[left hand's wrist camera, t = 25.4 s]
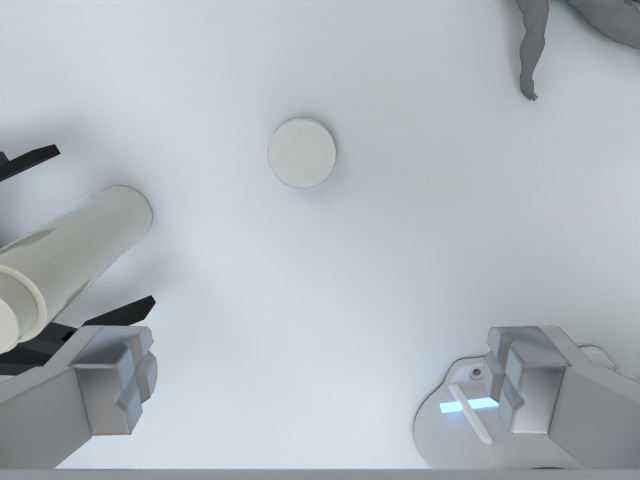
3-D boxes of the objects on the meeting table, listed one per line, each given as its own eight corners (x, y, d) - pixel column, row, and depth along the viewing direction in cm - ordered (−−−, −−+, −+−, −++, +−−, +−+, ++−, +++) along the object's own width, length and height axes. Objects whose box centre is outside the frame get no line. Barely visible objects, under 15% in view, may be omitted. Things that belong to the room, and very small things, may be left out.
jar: (85, 215, 39) (-92, 325, 22) (115, 173, 38) (-49, 257, 21) (132, 249, 40) (-1, 378, 23) (163, 210, 39) (46, 318, 22)
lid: (328, 188, 38) (329, 193, 36) (265, 176, 38) (263, 181, 36) (341, 124, 36) (342, 126, 34) (275, 111, 36) (273, 113, 34)
